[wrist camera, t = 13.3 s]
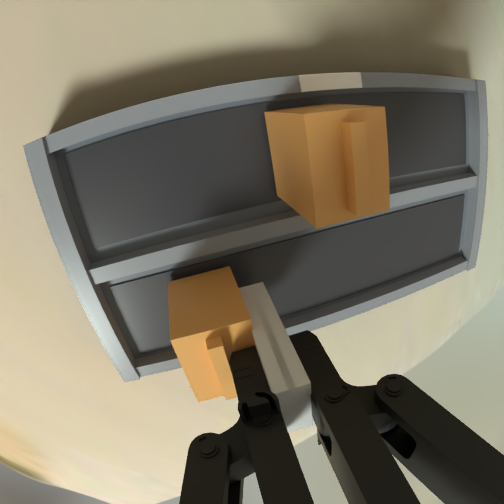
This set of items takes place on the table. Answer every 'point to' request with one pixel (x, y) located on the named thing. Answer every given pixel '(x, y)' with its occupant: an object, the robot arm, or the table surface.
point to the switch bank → (256, 204)
